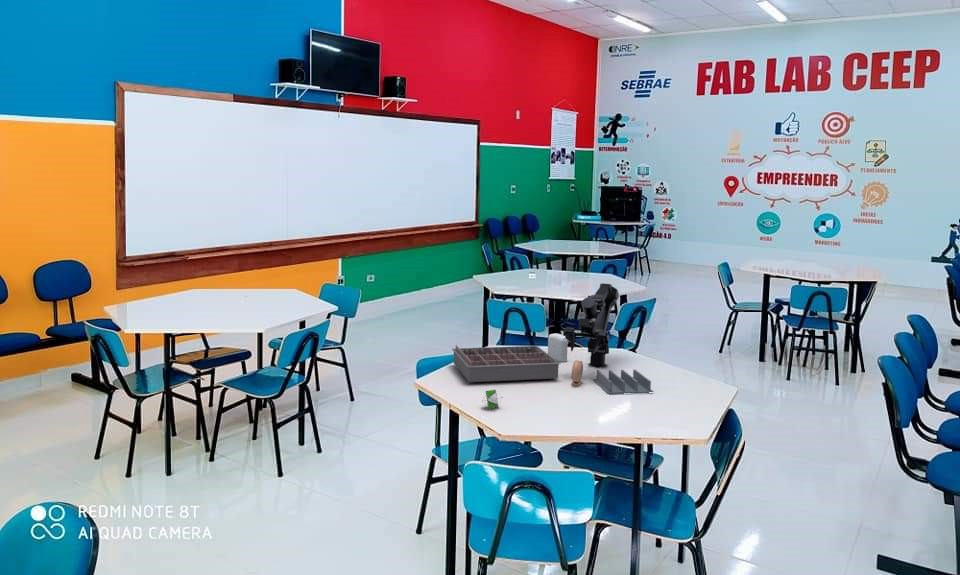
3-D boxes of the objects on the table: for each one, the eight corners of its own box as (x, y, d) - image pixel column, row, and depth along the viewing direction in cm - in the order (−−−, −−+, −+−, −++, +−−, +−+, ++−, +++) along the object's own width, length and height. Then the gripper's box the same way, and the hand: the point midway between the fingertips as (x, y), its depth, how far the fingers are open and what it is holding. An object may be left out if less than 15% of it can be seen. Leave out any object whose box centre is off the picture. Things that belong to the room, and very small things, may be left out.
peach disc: (576, 381, 319) (577, 358, 317) (583, 382, 317) (584, 358, 316) (569, 386, 310) (570, 362, 309) (577, 387, 309) (578, 363, 308)
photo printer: (546, 358, 356) (547, 332, 354) (552, 357, 359) (553, 331, 357) (561, 362, 348) (562, 336, 347) (568, 361, 351) (569, 335, 349)
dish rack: (593, 380, 320) (593, 369, 319) (636, 379, 323) (636, 368, 322) (607, 394, 300) (608, 382, 300) (653, 393, 303) (654, 381, 303)
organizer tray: (560, 381, 318) (561, 358, 316) (467, 386, 308) (467, 362, 307) (536, 362, 349) (537, 341, 347) (451, 366, 339) (451, 344, 337)
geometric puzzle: (476, 399, 283) (483, 386, 278) (492, 396, 286) (499, 383, 281) (484, 414, 279) (491, 401, 274) (500, 412, 282) (507, 399, 277)
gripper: (566, 308, 324) (557, 338, 315) (609, 313, 316) (601, 344, 308) (570, 323, 332) (562, 353, 324) (612, 328, 325) (605, 358, 316)
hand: (582, 352), depth 318 cm, fingers open, 9 cm apart
